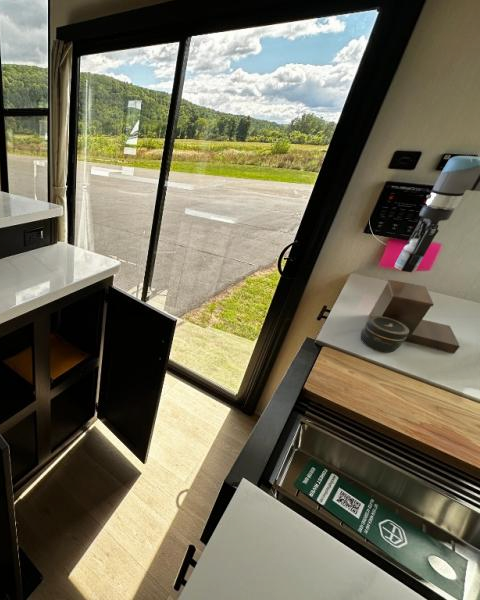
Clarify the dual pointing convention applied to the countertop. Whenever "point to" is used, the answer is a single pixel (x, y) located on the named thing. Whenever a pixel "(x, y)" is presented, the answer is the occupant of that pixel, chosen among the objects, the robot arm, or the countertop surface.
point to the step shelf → (414, 315)
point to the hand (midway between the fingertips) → (404, 267)
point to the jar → (384, 333)
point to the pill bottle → (407, 255)
